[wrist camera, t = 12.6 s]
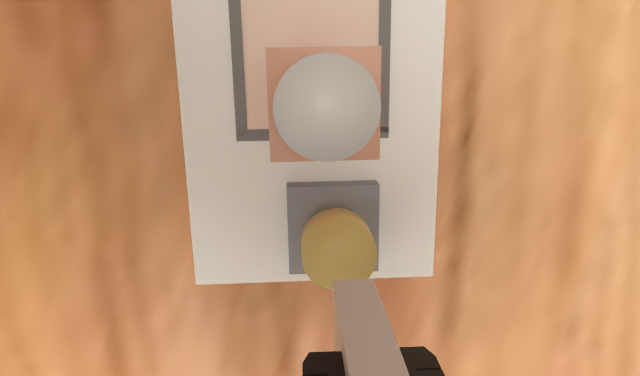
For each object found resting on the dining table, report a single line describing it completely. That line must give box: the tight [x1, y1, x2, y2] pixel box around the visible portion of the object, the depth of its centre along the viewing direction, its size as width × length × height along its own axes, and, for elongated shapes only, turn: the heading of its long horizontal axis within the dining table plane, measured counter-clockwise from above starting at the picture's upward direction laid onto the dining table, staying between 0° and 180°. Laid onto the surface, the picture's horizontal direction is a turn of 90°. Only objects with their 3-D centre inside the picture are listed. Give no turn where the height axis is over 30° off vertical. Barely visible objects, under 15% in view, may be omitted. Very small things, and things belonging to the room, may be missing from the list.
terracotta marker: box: [265, 46, 382, 162], centre depth 19 cm, size 3×3×12 cm
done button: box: [301, 208, 378, 291], centre depth 23 cm, size 4×4×2 cm
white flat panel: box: [171, 0, 446, 285], centre depth 24 cm, size 28×14×2 cm, turn 1°
